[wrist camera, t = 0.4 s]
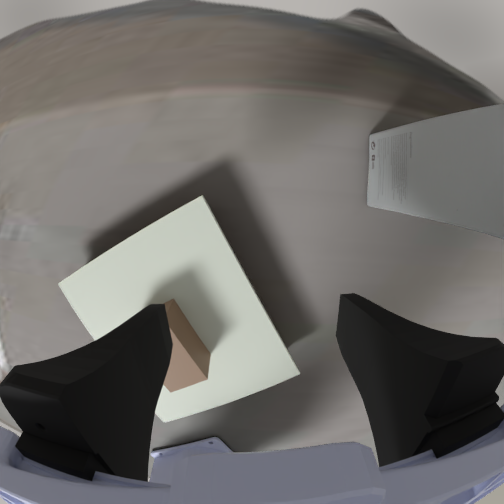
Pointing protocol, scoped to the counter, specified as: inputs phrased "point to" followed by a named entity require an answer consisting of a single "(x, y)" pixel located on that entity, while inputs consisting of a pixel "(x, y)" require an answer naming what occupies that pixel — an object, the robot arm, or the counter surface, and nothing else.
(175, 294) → the lid
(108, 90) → the counter surface
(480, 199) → the skincare box
